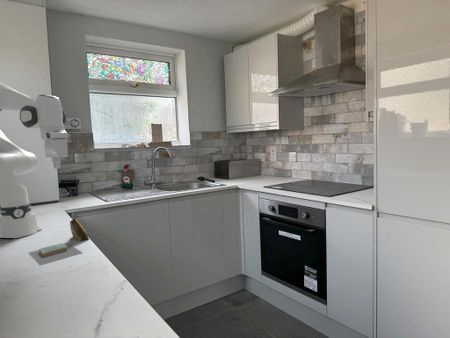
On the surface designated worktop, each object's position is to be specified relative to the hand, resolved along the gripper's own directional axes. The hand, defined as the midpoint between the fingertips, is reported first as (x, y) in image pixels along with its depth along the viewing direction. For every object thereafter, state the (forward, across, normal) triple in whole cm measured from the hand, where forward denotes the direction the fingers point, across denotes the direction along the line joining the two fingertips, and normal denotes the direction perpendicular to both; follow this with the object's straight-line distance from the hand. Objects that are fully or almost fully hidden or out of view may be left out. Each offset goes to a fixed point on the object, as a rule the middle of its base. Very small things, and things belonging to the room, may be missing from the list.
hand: (57, 168), depth 132 cm
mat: (+31, +14, -8) cm, 35 cm away
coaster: (+30, +8, -8) cm, 32 cm away
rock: (+31, +2, +5) cm, 32 cm away
